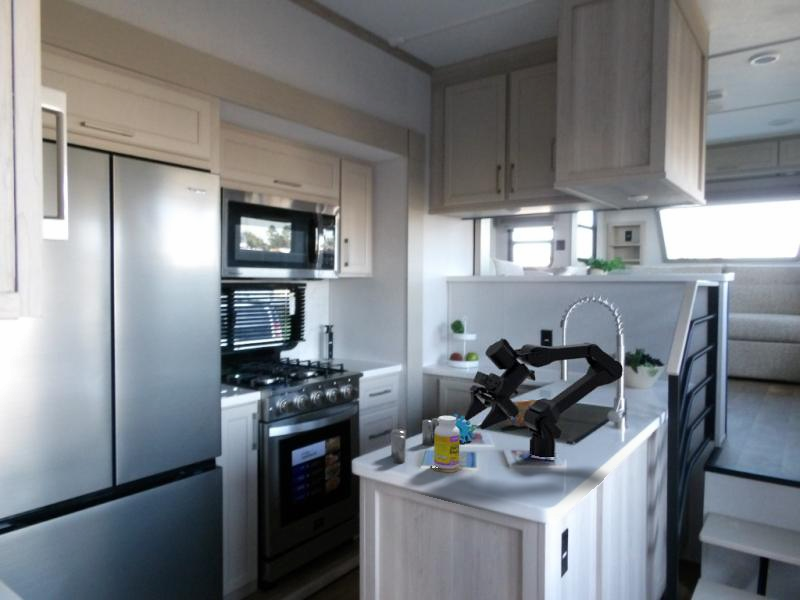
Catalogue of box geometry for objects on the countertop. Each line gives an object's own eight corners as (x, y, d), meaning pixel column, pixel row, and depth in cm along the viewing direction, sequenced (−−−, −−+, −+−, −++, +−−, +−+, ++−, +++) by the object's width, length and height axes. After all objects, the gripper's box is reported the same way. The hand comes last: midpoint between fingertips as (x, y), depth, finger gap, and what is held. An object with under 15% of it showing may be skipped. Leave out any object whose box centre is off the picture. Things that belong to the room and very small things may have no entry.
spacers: (442, 441, 175) (442, 418, 175) (416, 465, 152) (417, 439, 152) (413, 437, 178) (413, 415, 178) (383, 461, 155) (383, 435, 155)
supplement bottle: (450, 471, 147) (450, 422, 146) (429, 466, 151) (429, 418, 150) (463, 465, 152) (464, 417, 151) (443, 460, 156) (443, 413, 155)
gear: (451, 440, 170) (442, 412, 176) (442, 450, 174) (434, 422, 180) (482, 442, 174) (473, 413, 181) (473, 451, 178) (464, 423, 185)
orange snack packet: (509, 427, 192) (509, 402, 191) (503, 425, 195) (504, 401, 194) (545, 423, 198) (546, 399, 197) (540, 421, 201) (540, 397, 200)
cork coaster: (464, 464, 154) (464, 463, 154) (456, 474, 146) (456, 472, 146) (435, 460, 156) (435, 459, 156) (426, 470, 149) (426, 468, 149)
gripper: (476, 356, 163) (439, 396, 160) (509, 366, 146) (469, 412, 143) (499, 382, 166) (464, 422, 163) (535, 395, 149) (496, 440, 145)
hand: (472, 423), depth 153 cm, fingers open, 9 cm apart
